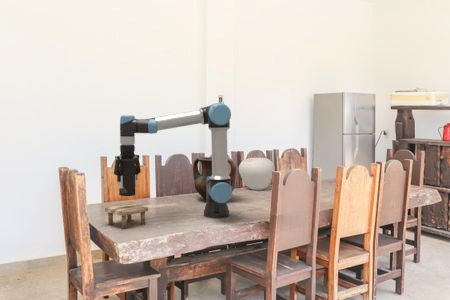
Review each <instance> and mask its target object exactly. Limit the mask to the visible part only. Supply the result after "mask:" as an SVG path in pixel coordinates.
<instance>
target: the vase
mask: <svg viewBox="0 0 450 300" xmlns="http://www.w3.org/2000/svg"><path fill="white" fill-rule="evenodd" d="M275 170H276V167H275V164H274V163H273V161H272V160H270V159H269V158H266V157H248V158H244V159H243V160H242V161H241V162H240V164H239V165H238V173H239V175H240V178H241V180H242V182H243V183H244V185H245V186H246V187H247V188H249V189H251V190H252V191H263V190H265V189H266V188H267V187H268V186H269V185H270V183H271V181H272V179H273V177H272V172H274V171H275ZM275 172H276V171H275ZM275 172H274V173H275Z"/></svg>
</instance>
